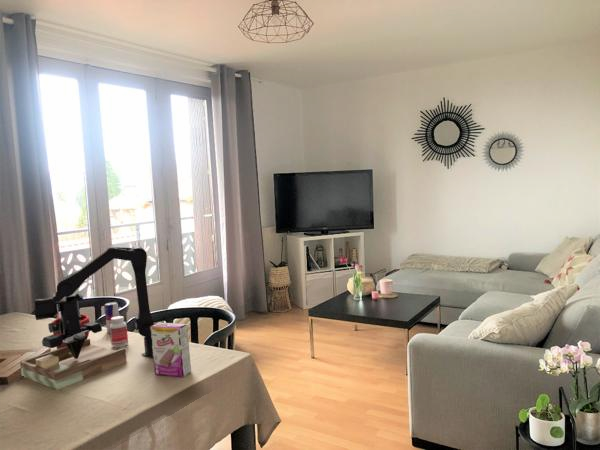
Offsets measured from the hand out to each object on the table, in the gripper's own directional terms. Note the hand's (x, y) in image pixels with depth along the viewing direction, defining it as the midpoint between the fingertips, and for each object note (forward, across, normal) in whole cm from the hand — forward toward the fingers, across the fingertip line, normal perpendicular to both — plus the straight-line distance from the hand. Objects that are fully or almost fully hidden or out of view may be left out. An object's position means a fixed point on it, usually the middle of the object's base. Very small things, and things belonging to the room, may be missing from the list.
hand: (76, 358), depth 171 cm
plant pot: (+4, -11, -21) cm, 24 cm away
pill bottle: (+4, -22, -7) cm, 23 cm away
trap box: (+4, +1, 0) cm, 4 cm away
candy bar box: (+4, -12, +35) cm, 37 cm away
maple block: (0, +10, 0) cm, 10 cm away
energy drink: (+4, -32, -26) cm, 41 cm away
